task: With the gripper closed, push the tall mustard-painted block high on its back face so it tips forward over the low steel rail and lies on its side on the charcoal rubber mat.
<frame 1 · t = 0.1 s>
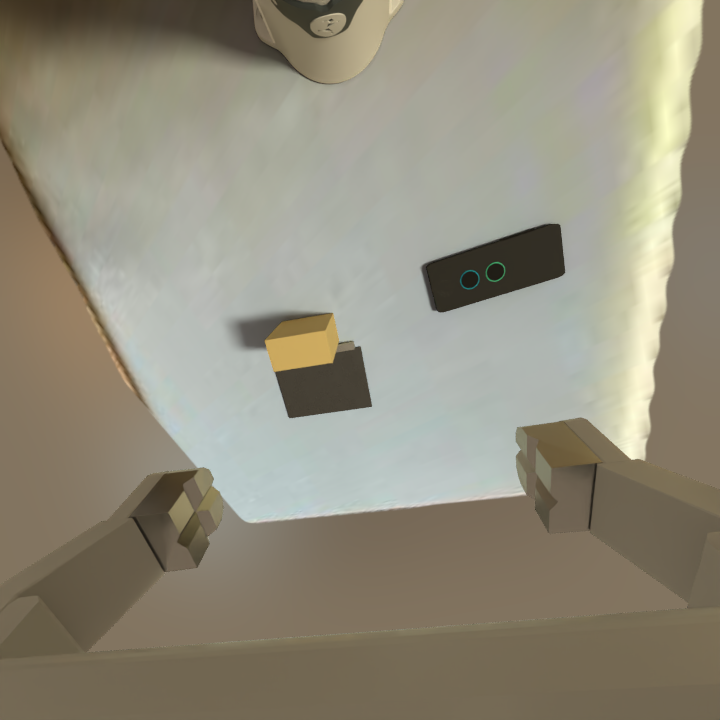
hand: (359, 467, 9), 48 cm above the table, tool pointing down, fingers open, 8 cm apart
smart home device: (492, 269, 53), on the table
mustard block: (310, 331, 58), on the table
topple stop: (322, 377, 61), on the table
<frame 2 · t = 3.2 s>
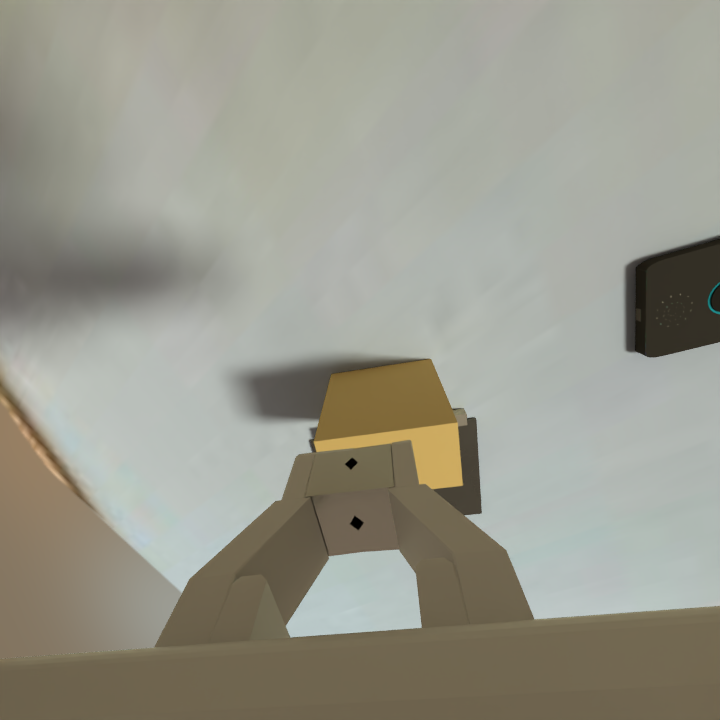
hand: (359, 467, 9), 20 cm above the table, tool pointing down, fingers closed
mustard block: (384, 390, 31), on the table
topple stop: (398, 467, 34), on the table
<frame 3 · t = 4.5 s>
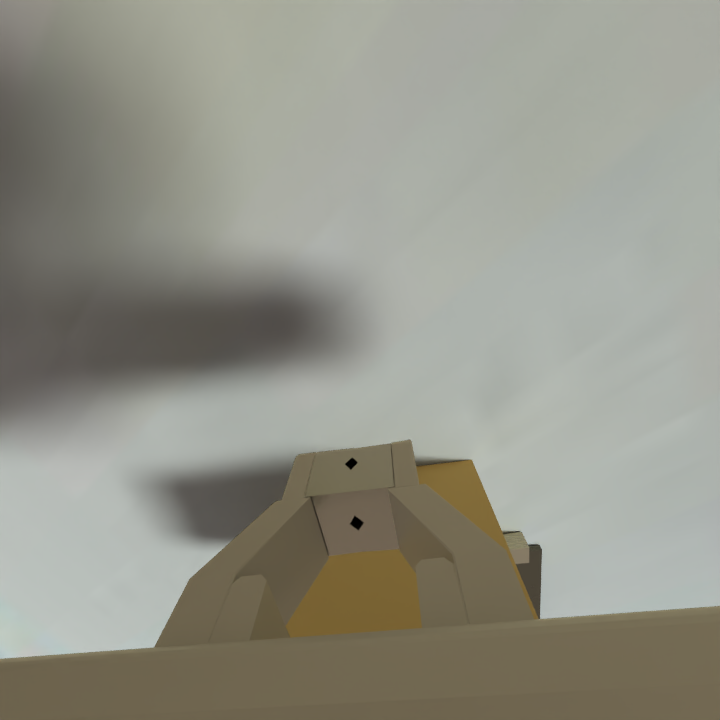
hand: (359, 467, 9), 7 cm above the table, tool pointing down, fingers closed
mustard block: (392, 505, 19), on the table
topple stop: (412, 608, 22), on the table
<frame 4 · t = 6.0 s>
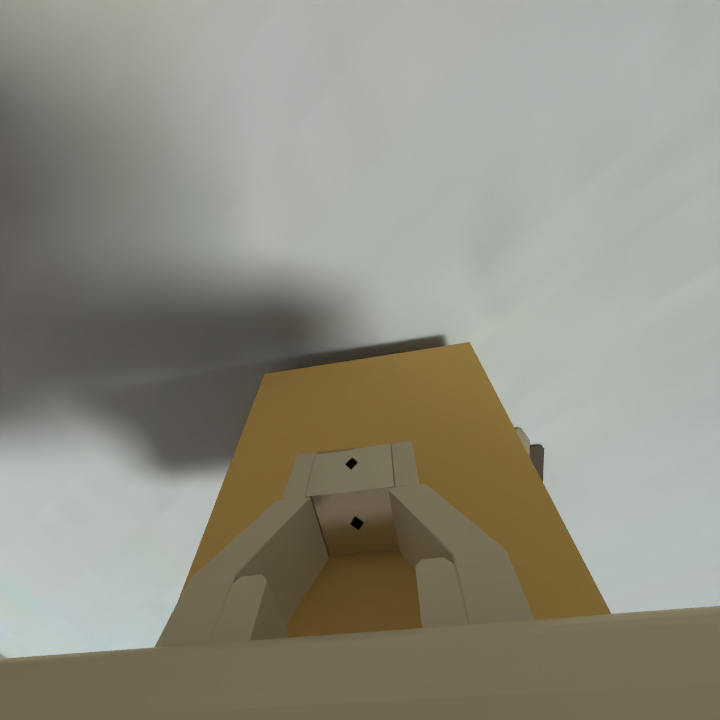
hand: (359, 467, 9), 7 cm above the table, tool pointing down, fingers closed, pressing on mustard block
mustard block: (373, 401, 16), on the table, tilted 12°, touching gripper
topple stop: (397, 528, 20), on the table
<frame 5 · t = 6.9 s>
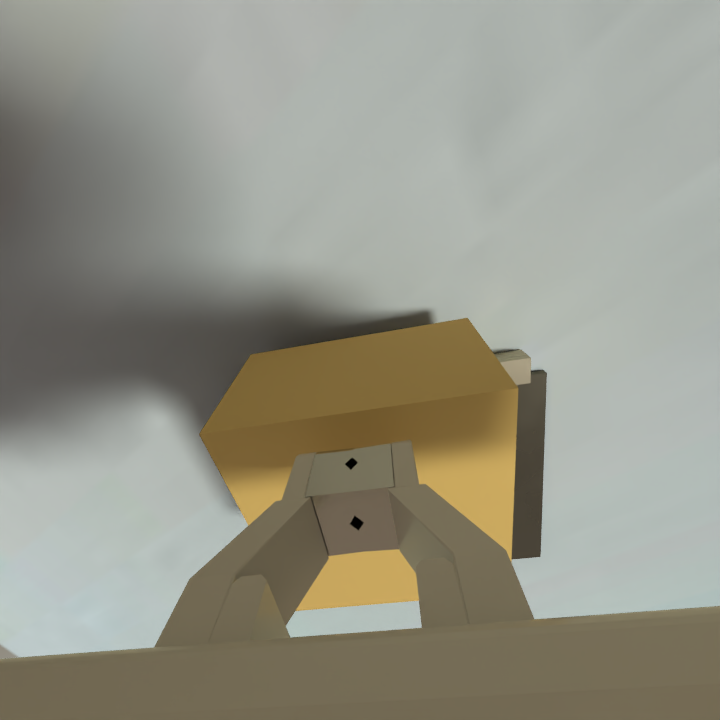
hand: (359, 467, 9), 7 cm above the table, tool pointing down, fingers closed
mustard block: (353, 367, 11), point 4 cm above the table, tilted 96°, touching topple stop
topple stop: (386, 472, 18), on the table
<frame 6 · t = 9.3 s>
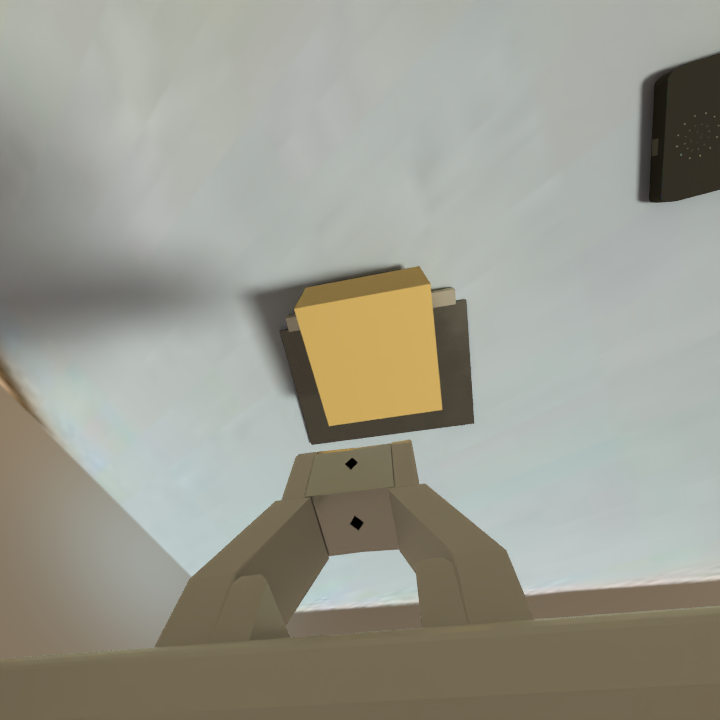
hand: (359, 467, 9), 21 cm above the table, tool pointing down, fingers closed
mustard block: (361, 285, 24), point 4 cm above the table, tilted 96°, touching topple stop
topple stop: (379, 366, 30), on the table
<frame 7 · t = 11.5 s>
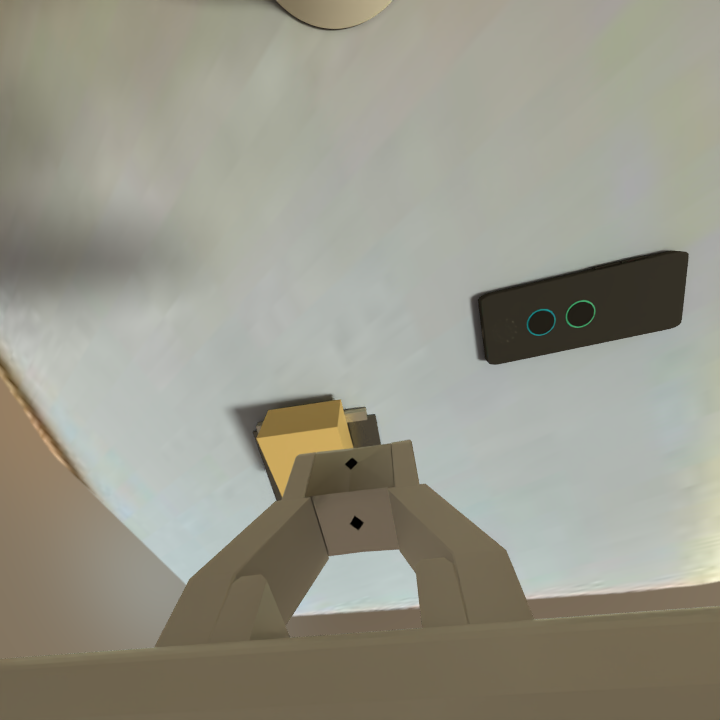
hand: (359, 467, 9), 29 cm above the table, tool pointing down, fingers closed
smart home device: (571, 308, 37), on the table
mustard block: (300, 418, 38), point 4 cm above the table, tilted 96°, touching topple stop
topple stop: (321, 453, 44), on the table
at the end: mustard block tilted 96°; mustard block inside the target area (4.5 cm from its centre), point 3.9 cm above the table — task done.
